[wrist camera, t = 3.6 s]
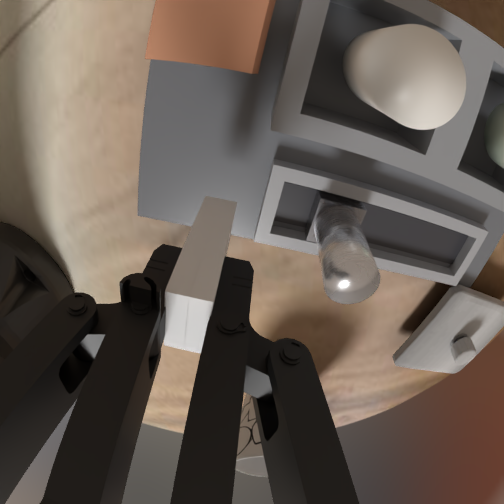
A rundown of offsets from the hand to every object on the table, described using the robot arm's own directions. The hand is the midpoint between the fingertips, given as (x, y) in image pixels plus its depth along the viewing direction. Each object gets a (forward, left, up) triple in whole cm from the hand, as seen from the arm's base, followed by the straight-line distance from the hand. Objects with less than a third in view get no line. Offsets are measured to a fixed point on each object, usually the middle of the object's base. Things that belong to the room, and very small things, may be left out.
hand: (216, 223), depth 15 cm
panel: (+7, +5, -5) cm, 10 cm away
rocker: (-2, +9, -1) cm, 9 cm away
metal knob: (+6, 0, -4) cm, 7 cm away
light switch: (+22, -8, -6) cm, 24 cm away
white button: (+5, +9, -1) cm, 11 cm away
